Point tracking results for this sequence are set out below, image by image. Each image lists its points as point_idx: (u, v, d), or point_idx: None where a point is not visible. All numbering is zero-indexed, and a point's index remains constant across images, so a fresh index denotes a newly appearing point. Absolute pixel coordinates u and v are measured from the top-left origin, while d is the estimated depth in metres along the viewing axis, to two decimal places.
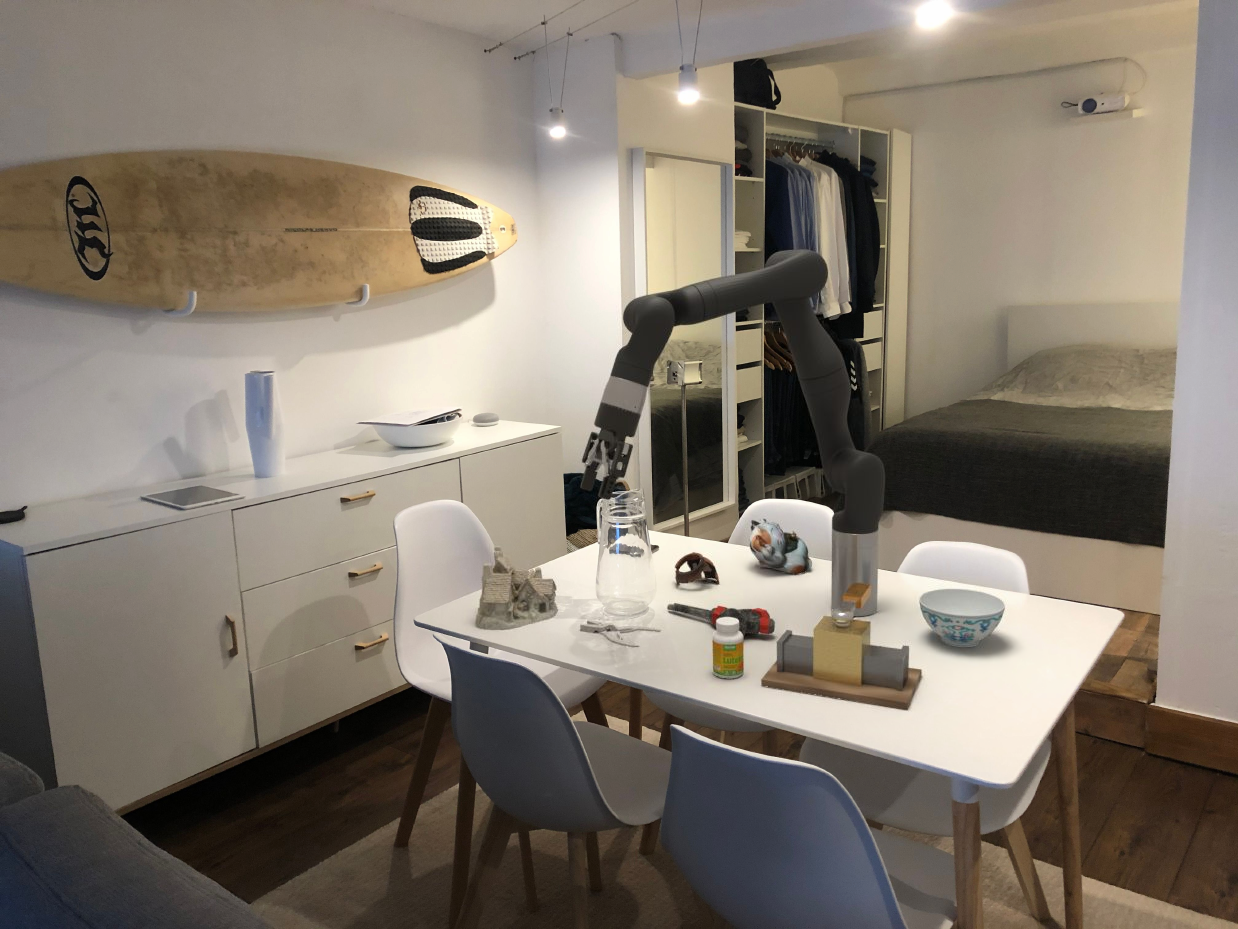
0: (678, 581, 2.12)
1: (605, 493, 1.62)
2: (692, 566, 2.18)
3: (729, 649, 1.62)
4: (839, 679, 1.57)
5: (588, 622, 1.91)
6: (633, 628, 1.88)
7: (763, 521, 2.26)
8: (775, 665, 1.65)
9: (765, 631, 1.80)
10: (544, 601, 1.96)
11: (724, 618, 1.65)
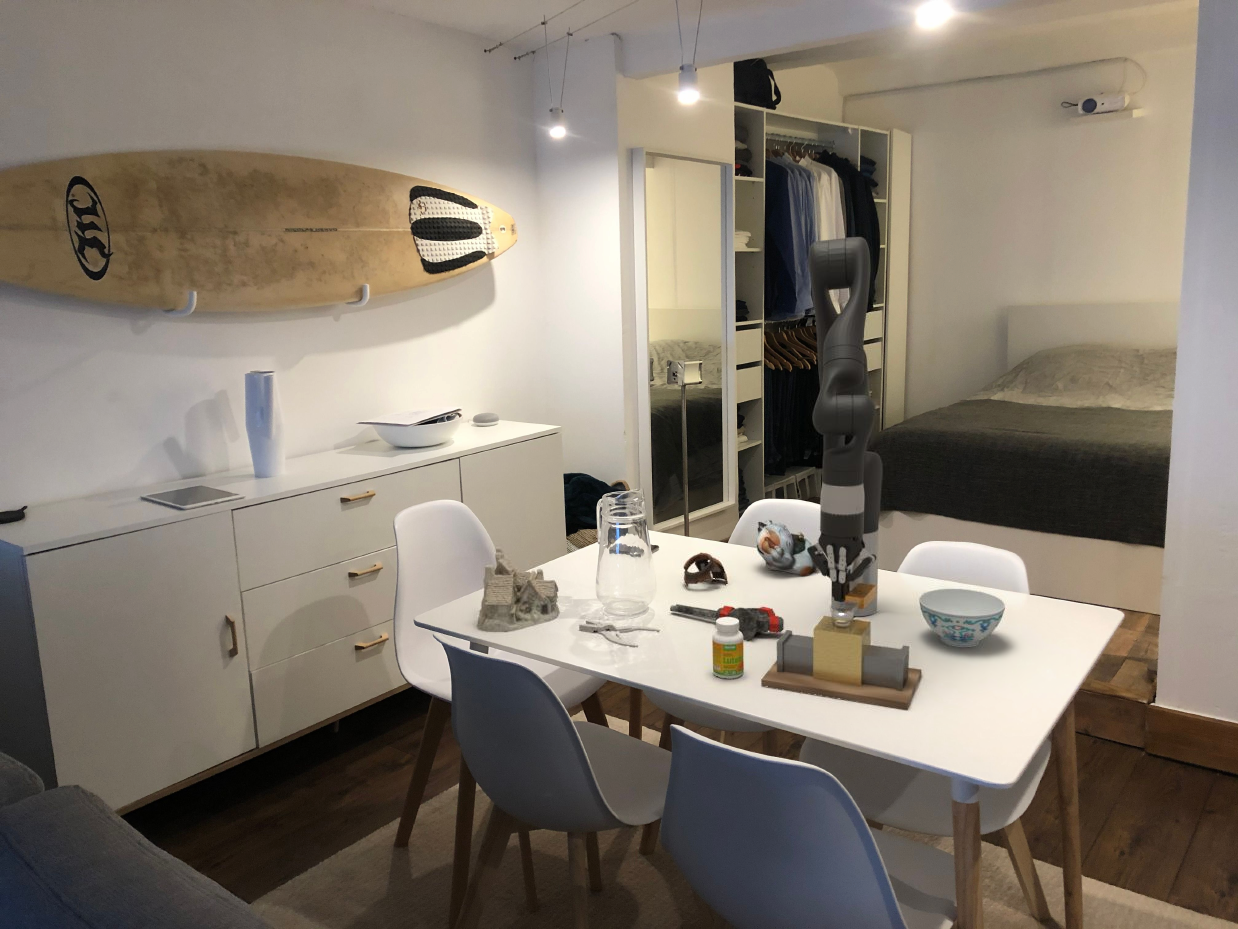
0: (687, 582, 2.12)
1: None
2: (700, 567, 2.17)
3: (729, 649, 1.62)
4: (839, 679, 1.57)
5: (587, 622, 1.91)
6: (632, 628, 1.88)
7: (769, 522, 2.24)
8: (775, 665, 1.65)
9: (775, 629, 1.80)
10: (546, 603, 1.95)
11: (724, 618, 1.65)
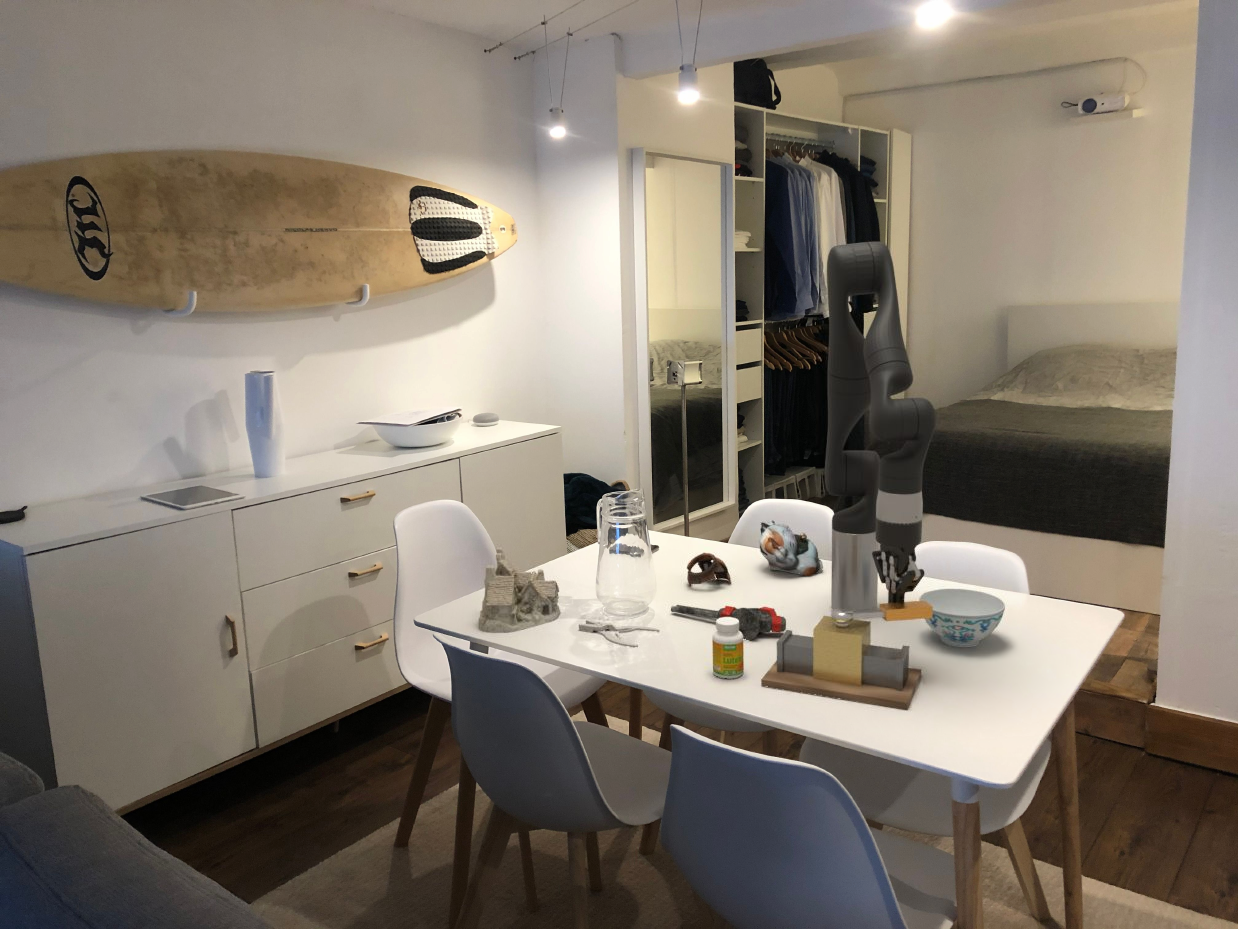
0: (691, 582, 2.11)
1: None
2: (703, 567, 2.17)
3: (729, 649, 1.62)
4: (839, 679, 1.57)
5: (587, 622, 1.91)
6: (632, 628, 1.88)
7: (772, 523, 2.24)
8: (775, 665, 1.65)
9: (777, 629, 1.81)
10: (547, 603, 1.95)
11: (724, 618, 1.65)
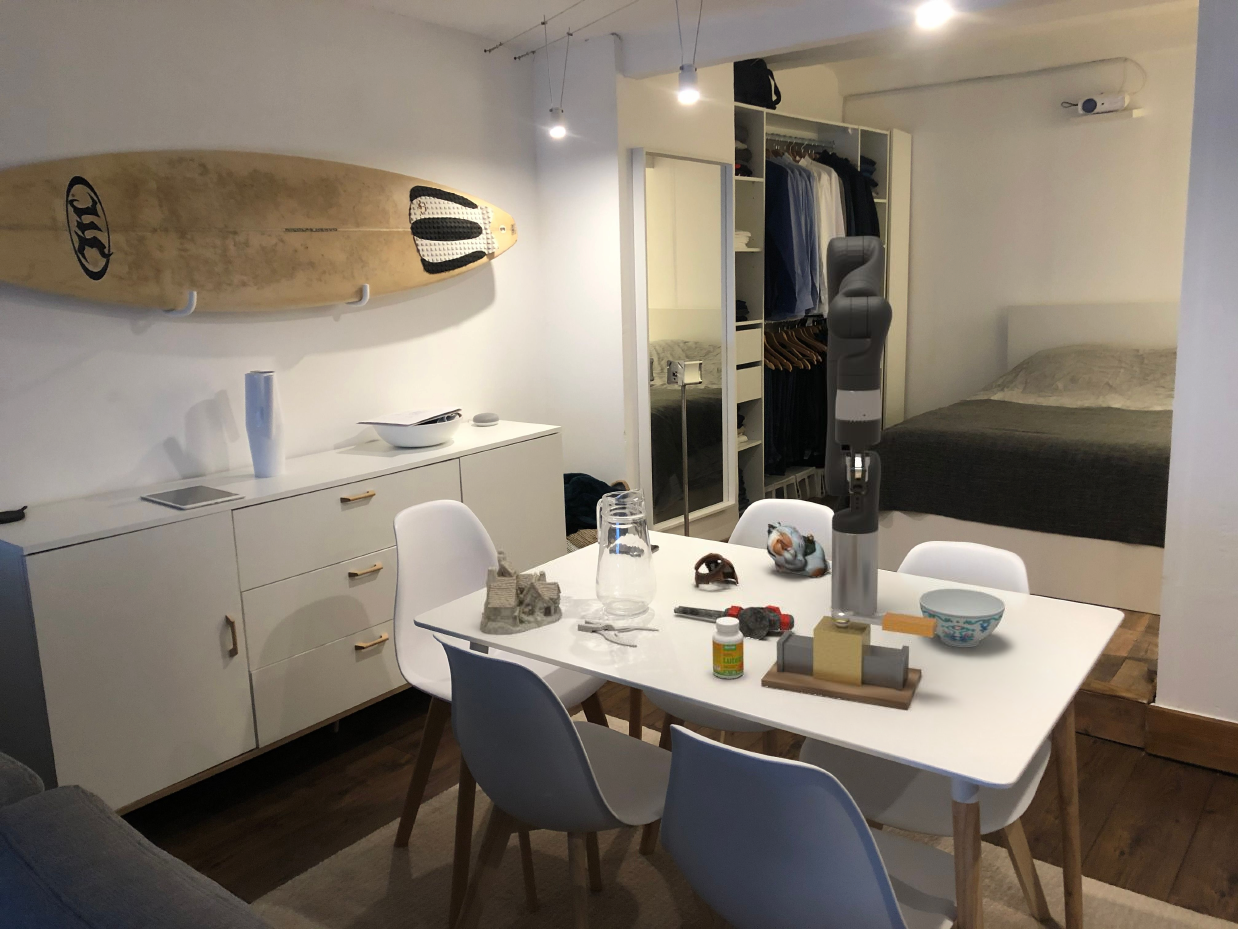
0: (698, 582, 2.11)
1: (854, 510, 1.63)
2: (710, 567, 2.17)
3: (729, 649, 1.62)
4: (839, 679, 1.57)
5: (586, 622, 1.91)
6: (631, 628, 1.88)
7: (778, 524, 2.22)
8: (775, 665, 1.65)
9: (786, 627, 1.81)
10: (549, 605, 1.94)
11: (724, 618, 1.65)
